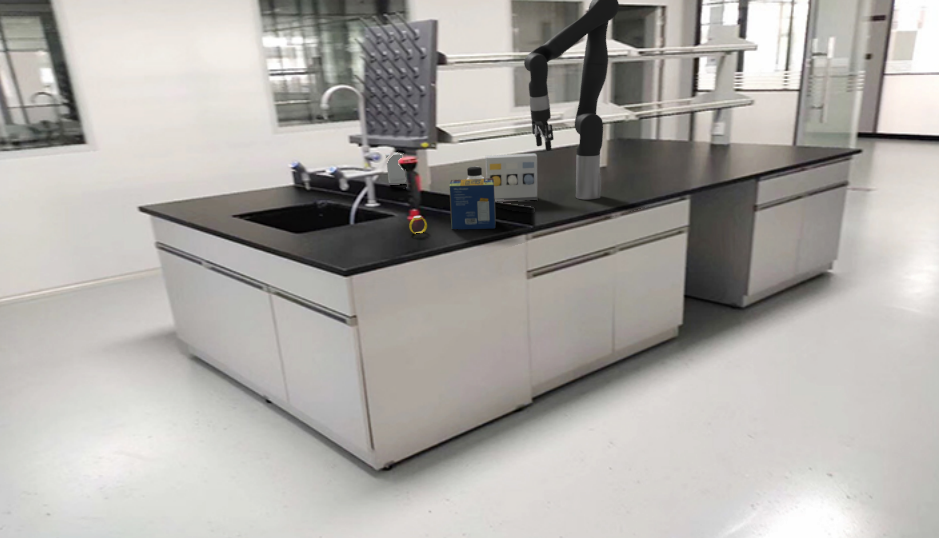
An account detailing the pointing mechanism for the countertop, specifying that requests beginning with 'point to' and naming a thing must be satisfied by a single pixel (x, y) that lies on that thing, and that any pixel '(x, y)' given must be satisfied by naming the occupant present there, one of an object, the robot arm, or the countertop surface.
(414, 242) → the countertop surface
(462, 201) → the protein box
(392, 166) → the grey shouldered block
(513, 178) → the white button
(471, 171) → the medicine bottle
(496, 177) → the amber button
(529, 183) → the blue button
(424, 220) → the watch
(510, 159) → the panel
